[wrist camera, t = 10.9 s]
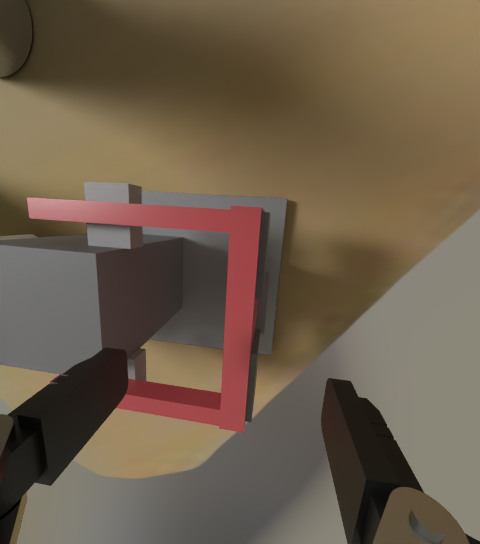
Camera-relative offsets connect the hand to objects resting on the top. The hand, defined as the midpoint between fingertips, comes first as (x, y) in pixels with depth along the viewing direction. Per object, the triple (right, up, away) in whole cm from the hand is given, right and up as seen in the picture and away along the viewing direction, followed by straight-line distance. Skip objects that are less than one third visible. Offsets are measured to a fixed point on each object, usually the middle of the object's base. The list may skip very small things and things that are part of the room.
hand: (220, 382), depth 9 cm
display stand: (-4, +4, +18) cm, 19 cm away
